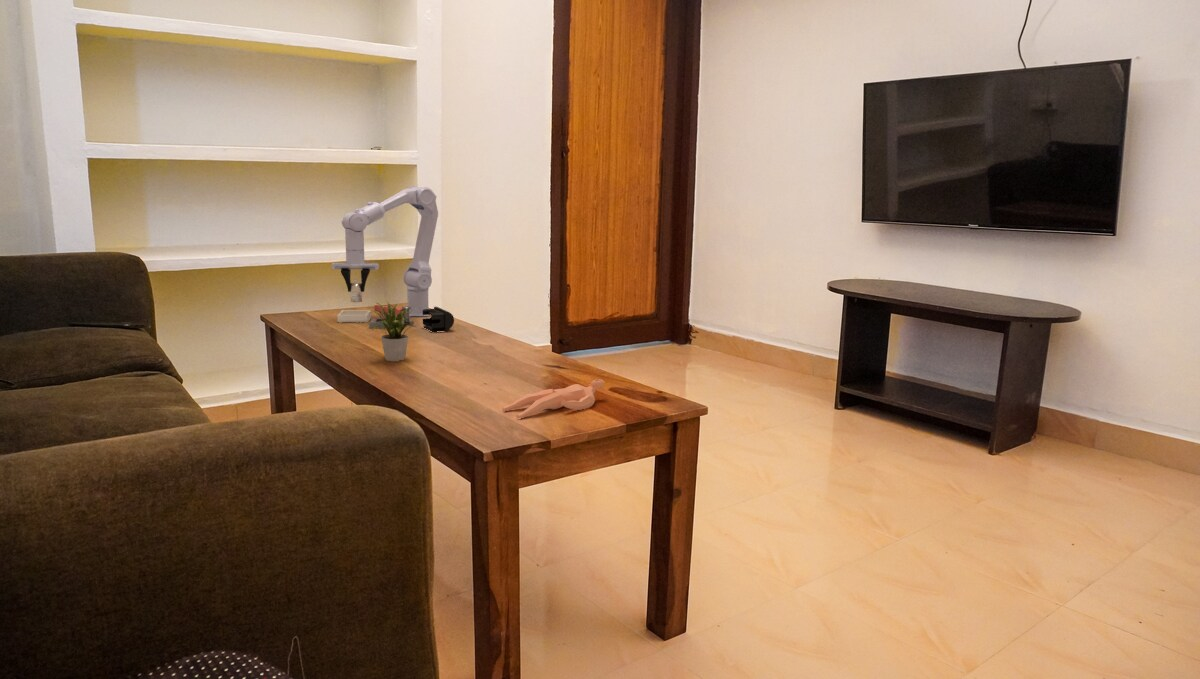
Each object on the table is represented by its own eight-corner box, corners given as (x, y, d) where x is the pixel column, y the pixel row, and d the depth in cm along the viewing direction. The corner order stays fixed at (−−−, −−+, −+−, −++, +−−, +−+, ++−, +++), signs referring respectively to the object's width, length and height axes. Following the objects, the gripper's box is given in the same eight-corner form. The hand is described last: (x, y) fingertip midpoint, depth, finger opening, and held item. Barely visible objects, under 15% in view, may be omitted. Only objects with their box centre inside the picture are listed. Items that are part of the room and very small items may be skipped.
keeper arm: (406, 314, 260) (406, 308, 260) (400, 315, 258) (400, 309, 257) (379, 310, 266) (379, 304, 266) (372, 311, 264) (372, 305, 263)
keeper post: (401, 323, 260) (400, 306, 259) (413, 323, 261) (413, 306, 260) (400, 325, 257) (399, 308, 255) (412, 325, 257) (412, 308, 256)
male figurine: (496, 395, 170) (588, 371, 185) (497, 417, 172) (589, 391, 186) (522, 407, 162) (617, 381, 177) (524, 430, 163) (617, 402, 178)
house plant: (351, 360, 209) (349, 299, 206) (388, 350, 221) (386, 293, 218) (392, 367, 203) (391, 305, 199) (427, 357, 215) (427, 298, 211)
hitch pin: (350, 300, 261) (349, 279, 259) (361, 300, 262) (361, 279, 261) (351, 302, 257) (350, 281, 256) (362, 302, 259) (361, 280, 257)
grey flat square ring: (372, 323, 258) (372, 318, 258) (397, 323, 259) (397, 318, 259) (369, 328, 250) (369, 322, 250) (395, 328, 252) (395, 322, 251)
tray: (342, 317, 267) (342, 310, 266) (371, 317, 268) (370, 310, 268) (337, 322, 257) (337, 315, 257) (367, 322, 259) (367, 315, 258)
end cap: (454, 331, 250) (454, 310, 249) (433, 333, 246) (432, 312, 245) (443, 326, 258) (442, 305, 257) (422, 327, 255) (421, 307, 253)
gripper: (329, 250, 252) (331, 292, 254) (376, 251, 254) (377, 293, 257) (333, 248, 258) (334, 289, 261) (378, 249, 261) (379, 290, 264)
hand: (356, 291), depth 259 cm, fingers closed on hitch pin, 4 cm apart
